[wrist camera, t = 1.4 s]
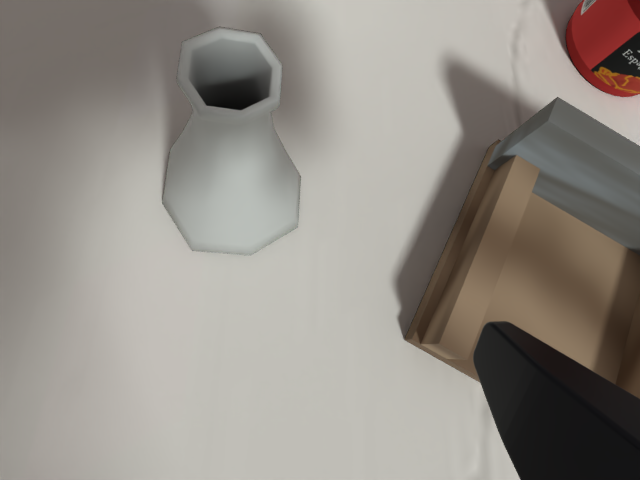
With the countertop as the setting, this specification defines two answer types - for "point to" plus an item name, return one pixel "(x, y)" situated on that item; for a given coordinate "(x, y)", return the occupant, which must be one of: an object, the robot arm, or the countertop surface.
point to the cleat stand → (545, 249)
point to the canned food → (607, 44)
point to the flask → (231, 147)
